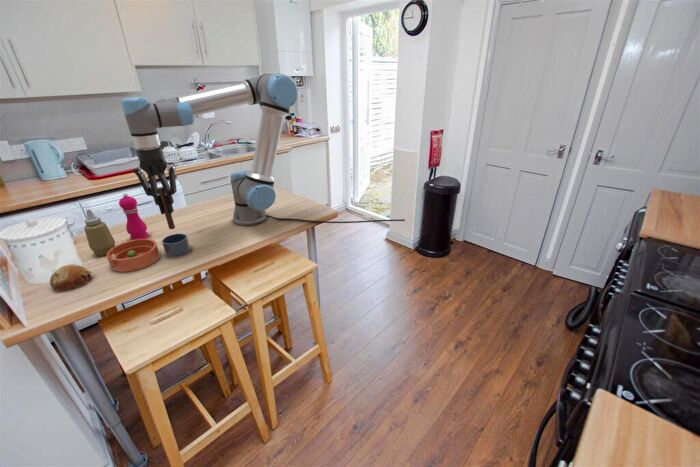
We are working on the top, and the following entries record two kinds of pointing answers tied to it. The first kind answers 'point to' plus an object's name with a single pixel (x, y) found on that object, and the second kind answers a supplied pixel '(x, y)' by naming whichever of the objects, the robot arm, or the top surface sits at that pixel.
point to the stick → (165, 208)
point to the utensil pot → (176, 245)
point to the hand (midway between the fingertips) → (167, 212)
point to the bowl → (123, 263)
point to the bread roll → (69, 277)
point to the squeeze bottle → (98, 235)
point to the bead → (131, 254)
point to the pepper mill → (133, 218)
